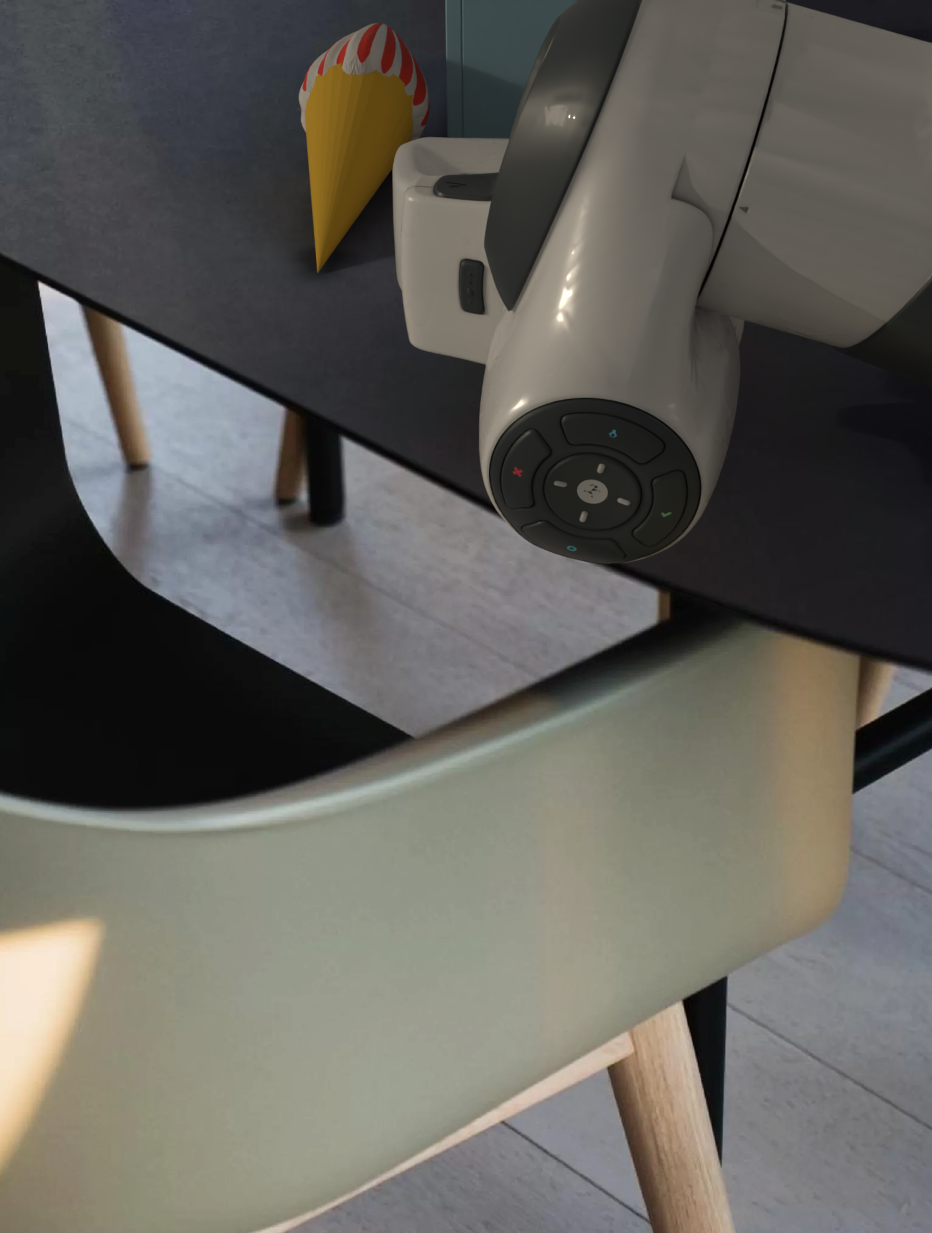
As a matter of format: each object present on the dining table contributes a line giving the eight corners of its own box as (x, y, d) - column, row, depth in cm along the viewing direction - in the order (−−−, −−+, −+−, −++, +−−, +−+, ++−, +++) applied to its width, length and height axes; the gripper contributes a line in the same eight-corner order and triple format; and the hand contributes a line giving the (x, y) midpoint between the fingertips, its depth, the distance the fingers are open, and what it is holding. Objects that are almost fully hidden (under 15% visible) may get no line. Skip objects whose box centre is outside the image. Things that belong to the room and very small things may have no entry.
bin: (731, 58, 120) (743, -111, 115) (719, 171, 109) (731, -11, 103) (485, 54, 122) (485, -113, 117) (447, 164, 111) (445, -15, 105)
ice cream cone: (305, 347, 106) (372, 98, 117) (409, 293, 102) (468, 41, 113) (222, 256, 102) (300, 9, 113) (327, 196, 98) (396, -53, 110)
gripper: (923, 202, 79) (915, 63, 89) (362, 191, 82) (417, 58, 92) (903, 363, 83) (897, 212, 93) (369, 346, 86) (421, 202, 96)
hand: (654, 135), depth 93 cm, fingers closed on paper cup, 6 cm apart
